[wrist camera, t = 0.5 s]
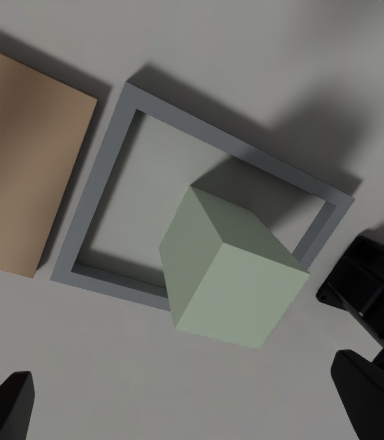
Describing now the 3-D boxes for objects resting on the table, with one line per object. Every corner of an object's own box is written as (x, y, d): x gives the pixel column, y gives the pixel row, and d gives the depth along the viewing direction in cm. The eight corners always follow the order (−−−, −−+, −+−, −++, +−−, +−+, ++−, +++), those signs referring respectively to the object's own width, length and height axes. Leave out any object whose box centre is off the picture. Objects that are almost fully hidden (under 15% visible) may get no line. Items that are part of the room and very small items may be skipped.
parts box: (251, 211, 22) (310, 274, 15) (218, 269, 24) (257, 351, 17) (189, 185, 21) (223, 242, 13) (157, 249, 22) (173, 331, 15)
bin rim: (344, 193, 23) (355, 198, 22) (256, 325, 27) (262, 335, 26) (125, 81, 17) (125, 81, 16) (53, 269, 21) (49, 279, 20)
